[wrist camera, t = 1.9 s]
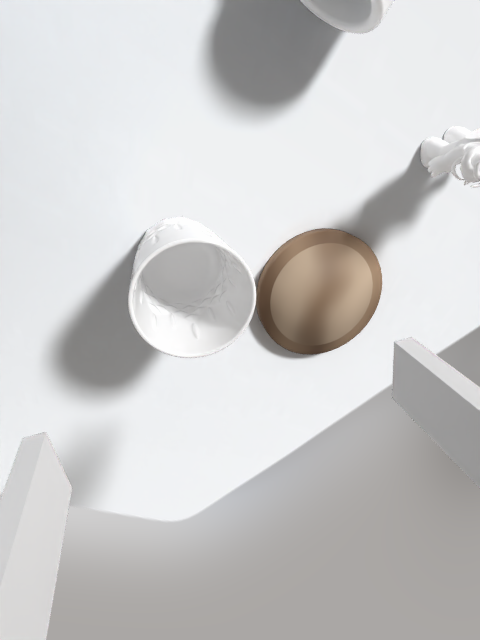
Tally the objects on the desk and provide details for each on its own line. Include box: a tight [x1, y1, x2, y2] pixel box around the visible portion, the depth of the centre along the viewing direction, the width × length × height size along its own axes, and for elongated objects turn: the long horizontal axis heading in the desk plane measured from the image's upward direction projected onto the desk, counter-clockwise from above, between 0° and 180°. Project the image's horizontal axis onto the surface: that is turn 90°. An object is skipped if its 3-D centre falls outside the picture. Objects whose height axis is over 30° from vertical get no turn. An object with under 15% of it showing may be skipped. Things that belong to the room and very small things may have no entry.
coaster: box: [256, 229, 382, 354], centre depth 37 cm, size 12×12×1 cm
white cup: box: [128, 217, 256, 358], centre depth 29 cm, size 8×8×10 cm
